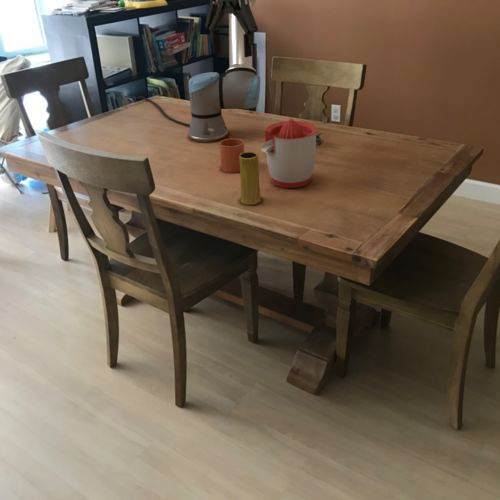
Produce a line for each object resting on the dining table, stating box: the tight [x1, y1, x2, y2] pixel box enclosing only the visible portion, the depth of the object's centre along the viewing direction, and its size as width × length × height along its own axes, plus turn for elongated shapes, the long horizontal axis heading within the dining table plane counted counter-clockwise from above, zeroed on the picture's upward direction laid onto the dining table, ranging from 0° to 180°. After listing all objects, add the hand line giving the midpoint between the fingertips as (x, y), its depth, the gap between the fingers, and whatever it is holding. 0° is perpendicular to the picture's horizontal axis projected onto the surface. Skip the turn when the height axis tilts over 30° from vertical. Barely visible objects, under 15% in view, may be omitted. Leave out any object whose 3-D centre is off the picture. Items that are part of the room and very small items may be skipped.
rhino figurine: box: [316, 131, 325, 146], centre depth 188 cm, size 4×14×6 cm, turn 37°
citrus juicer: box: [260, 118, 318, 189], centre depth 157 cm, size 16×17×20 cm
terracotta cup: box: [219, 137, 245, 174], centre depth 171 cm, size 8×8×9 cm
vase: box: [239, 151, 262, 206], centre depth 148 cm, size 6×6×14 cm
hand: (232, 54), depth 163 cm, fingers open, 13 cm apart
